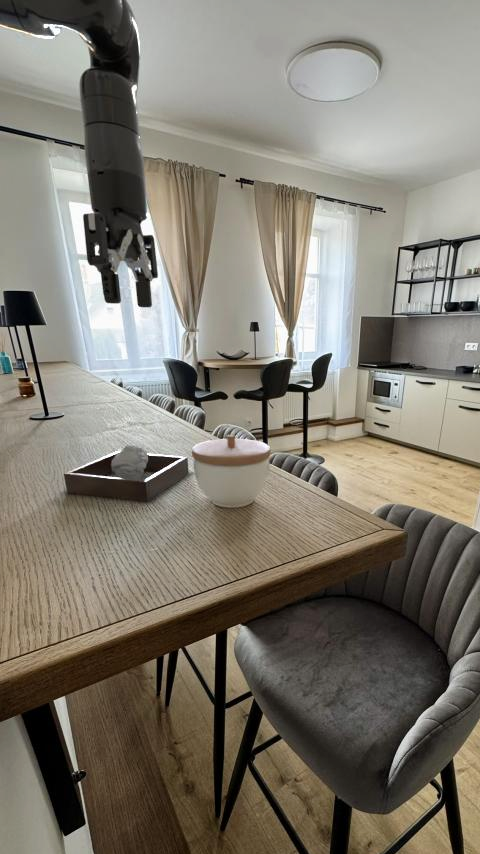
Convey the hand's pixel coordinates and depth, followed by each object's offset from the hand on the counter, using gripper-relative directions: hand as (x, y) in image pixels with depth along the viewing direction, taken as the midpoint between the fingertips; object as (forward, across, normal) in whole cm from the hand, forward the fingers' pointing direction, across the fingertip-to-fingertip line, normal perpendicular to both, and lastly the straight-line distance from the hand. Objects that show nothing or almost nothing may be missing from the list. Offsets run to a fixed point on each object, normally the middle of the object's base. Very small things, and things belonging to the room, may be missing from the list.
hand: (130, 305), depth 63 cm
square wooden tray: (+30, -2, -5) cm, 30 cm away
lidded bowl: (+30, +1, +16) cm, 34 cm away
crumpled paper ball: (+30, -2, -5) cm, 31 cm away
